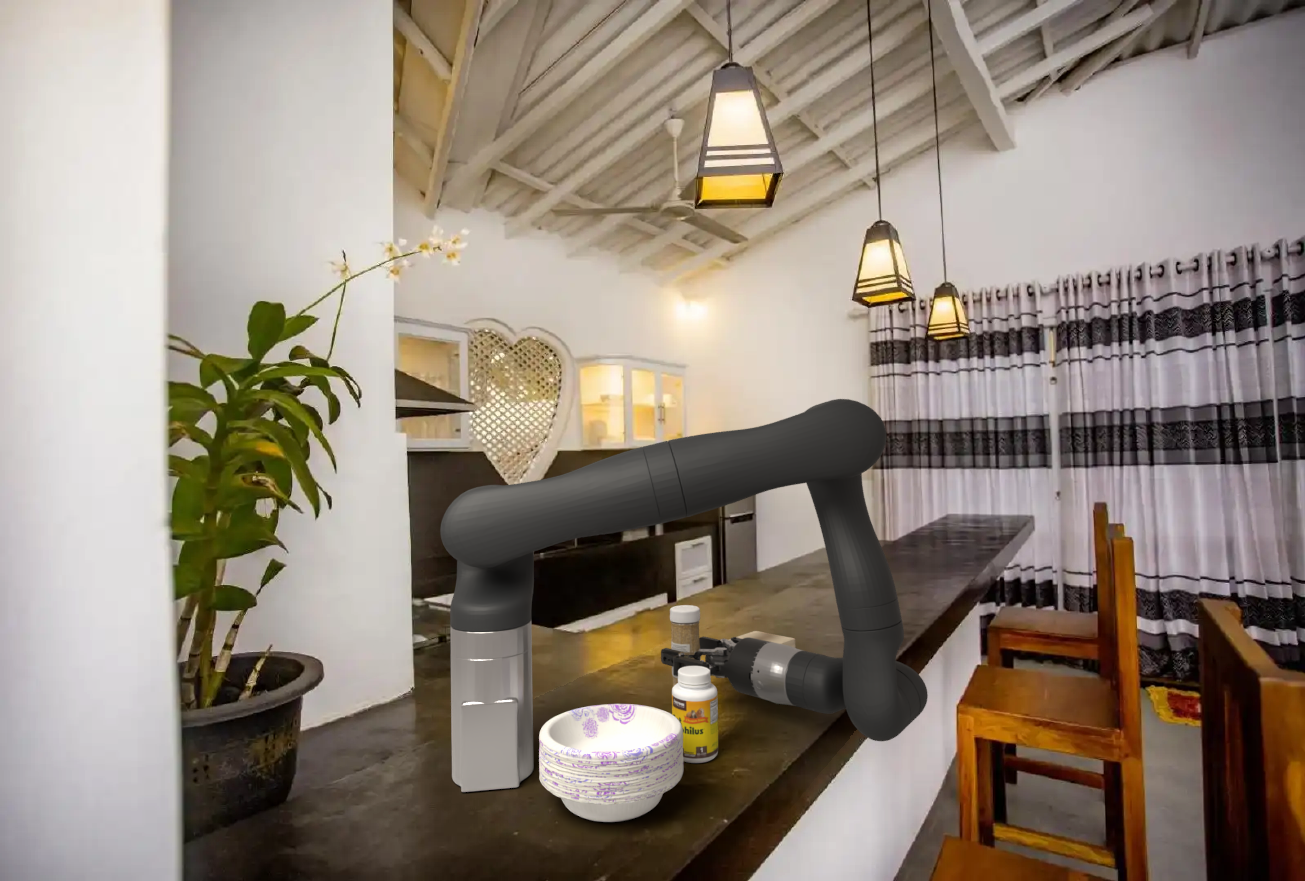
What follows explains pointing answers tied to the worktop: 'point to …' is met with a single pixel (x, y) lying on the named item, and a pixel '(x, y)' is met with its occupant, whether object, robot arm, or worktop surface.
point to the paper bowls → (611, 759)
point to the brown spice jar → (684, 630)
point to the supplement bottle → (696, 713)
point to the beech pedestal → (770, 638)
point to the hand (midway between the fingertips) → (681, 649)
